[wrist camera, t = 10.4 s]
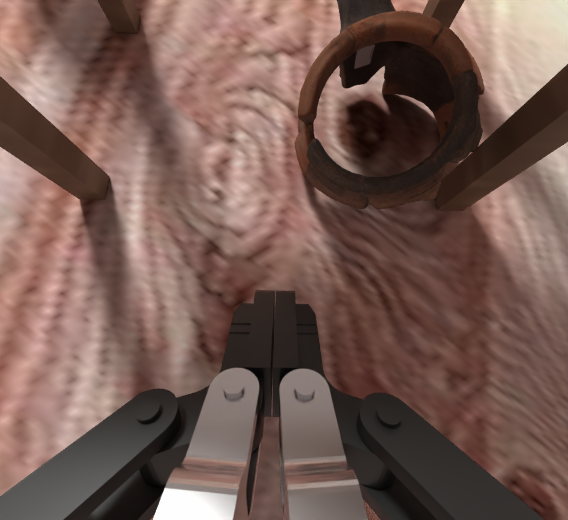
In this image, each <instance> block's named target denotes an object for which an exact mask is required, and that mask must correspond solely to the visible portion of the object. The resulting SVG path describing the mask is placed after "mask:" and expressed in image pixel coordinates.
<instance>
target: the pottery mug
mask: <svg viewBox="0 0 568 520" xmlns="http://www.w3.org/2000/svg"><path fill="white" fill-rule="evenodd" d="M337 2H338V7H339V13H340V20H341V30H340V34H339V35H338V36H337V37H336V38H334V39H333V40H332V41H331V42H330V44H329V45H328V46H327V47H326V48H325V49H324V50H323V51H322V52H321V53H320V55H319V56H318V57H317V59H316V60H315V62H314V63H313V65H312V66H311V68H310V71H309V73H308V75H307V77H306V79H305V82H304V85H303V87H302V89H301V92H300V99H299V107H298V118H299V119H298V132H299V134H298V136H297V138H296V140H295V150H296V154H297V158H298V162H299V165H300V167H301V169H302V172H303V174H304V175H306V179H307V180H308V182H309V183H310V184H312V185H313V186H314V187H315V188H317V189H318V190H319V191H321V192H322V193H324V194H325V195H327V196H329V197H330V198H332V199H334V200H336V201H338V202H340V203H343V204H346V205H349V206H352V207H355V208H359V209H365V208H366V207H367V206H368V204H369V205H371V206H373V207H374V208H376V209H385V208H391V207H395V206H398V205H402V204H405V203H409V202H415V201H420V200H429V199H433V198H435V197H436V196H437V192H438V190H439V188H440V184H441V181H442V174H443V170H444V167H445V165H446V164H447V163H448V162H453V163H457V162H459V161H461V160H464V159H465V158H466V157H467V156H468V154H469V153H470V152H474V151H475V150H476V149H477V148H478V145H479V142H480V139H481V136H482V132H483V130H482V128H481V122H480V115H479V111H478V100H479V95H482V94H483V93H484V84H483V79H482V76H481V72H480V70H479V68H478V66H477V63H476V61H475V60H474V58H473V57H472V55H471V54H470V52H469V51H468V50H467V49H466V48H465V46H464V44H463V43H462V41H461V40H460V39H459V37H458V36H457V35H456V34H455V33H454V32H453V31H452V30H451V29H449V28H447V27H443V26H442V24H441V22H439V21H438V20H436V19H435V18H432V17H429V16H426V15H423V14H421V13H416V12H409V11H396V10H395V9H394V7H393V5H392V3H391V0H337ZM339 65H340V66H339ZM338 66H339V68H340V77H341V81H342V86H343V87H344V88H346V89H347V88H350V87H353V86H355V85H361V84H365V83H367V82H368V81H369V79H370V78H371V77H372V76H373V75H374V74H375V73H376V72H377V71H378V70H379V69H380V68H382V67H383V66H385V73H384V79H385V81H384V84H383V88H382V94H383V95H390V94H398V95H406V96H409V97H411V98H414V99H416V100H418V101H420V102H422V103H424V104H425V105H426V106H427V107H428V108H429V109H430V110H431V111H432V112H433V114H434V116H435V119H436V121H437V124H438V127H439V131H440V137H441V142H440V143H439V145H438V146H437V147H436V149H435V150H434V151H433V152H432V154H431V155H430V156H429V157H427V158H426V159H425V160H424V161H423V162H421V163H419V164H418V165H417V166H415V167H413V168H411V169H410V170H407V171H405V172H403V173H400V174H397V175H393V176H388V177H367V176H362V175H359V174H355V173H352V172H350V171H348V170H346V169H343V168H342V167H341V166H339V165H338V164H336V163H335V162H334V161H333V160H332V159H331V158H330V157H329V156H328V154H327V153H326V152H325V150H324V148H323V146H322V145H321V143H320V142H319V140H318V139H315V137H314V129H313V122H314V120H315V118H316V114H317V106H318V102H319V98H320V95H321V92H322V90H323V88H324V86H325V84H326V82H327V80H328V79H329V77H330V76H331V74H332V73H333V72H334V70H335V69H336V68H337V67H338Z"/></svg>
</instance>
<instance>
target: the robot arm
mask: <svg viewBox="0 0 568 520" xmlns="http://www.w3.org/2000/svg"><path fill="white" fill-rule="evenodd" d="M274 327H275V330H274ZM272 378H273V417H279V463H280V482H281V501H282V520H368V517H367V513H366V509H365V505H364V501H363V499H364V500H365V501H366V502H367V503H368V505H369V506H370V507H371V508H372V509H373V511H374V512H375V513H376V514H377V516H378V517H379V518H380V519H381V520H544V519H543V518H542V517H541V516H540V515H538V514H537V513H536V512H535V511H534V510H532V509H531V508H530V507H529V506H528V505H526V504H525V503H524V502H523V501H522V500H520V499H519V498H518V497H517V496H516V495H514V494H513V493H512V492H511V491H510V490H508V489H507V488H506V487H505V486H504V485H502V484H501V483H500V482H499V481H498V480H496V479H495V478H494V477H493V476H491V475H490V474H489V473H488V472H487V471H485V470H484V469H483V468H482V467H481V466H479V465H478V464H477V463H476V462H475V461H473V460H472V459H471V458H470V457H469V456H467V455H466V454H465V453H464V452H463V451H461V450H460V449H459V448H458V447H457V446H455V445H454V444H453V443H452V442H451V441H449V440H448V439H447V438H446V437H445V436H443V435H442V434H441V433H440V432H439V431H437V430H436V429H435V428H434V427H433V426H431V425H430V424H429V423H428V422H427V421H425V420H424V419H423V418H422V417H421V416H419V415H418V414H417V413H416V412H415V411H413V410H412V409H411V408H410V407H409V406H407V405H406V404H405V403H404V402H402V401H401V400H400V399H398V398H397V397H395V396H392V395H390V394H386V393H373V394H370V395H368V396H367V397H365V398H364V400H362V399H359V398H356V397H353V396H350V395H347V394H344V393H342V392H340V391H338V390H337V389H335V388H334V387H333V386H332V385H331V384H330V383H329V382H328V381H327V379H326V377H325V375H324V372H323V366H322V359H321V352H320V344H319V337H318V330H317V323H316V316H315V313H314V311H313V310H312V309H311V307H310V306H309V304H296V303H295V291H276V307H275V291H267V290H256V292H255V299H254V304H249V303H241V305H240V306H239V307H238V308H237V309H236V311H235V312H234V314H233V319H232V323H231V327H230V332H229V336H228V341H227V345H226V349H225V354H224V358H223V362H222V367H221V370H220V373H219V374H218V375H217V376H216V377H215V378H214V379H213V381H212V382H211V384H210V385H209V386H208V387H206V388H204V389H202V390H200V391H198V392H195V393H192V394H188V395H185V396H181V397H178V398H176V397H175V395H174V394H173V393H172V392H170V391H168V390H165V389H152V390H148V391H145V392H143V393H141V394H139V395H138V396H136V397H135V398H133V399H132V400H130V401H129V402H128V403H126V404H125V405H124V406H122V407H121V408H120V409H118V410H117V411H116V412H114V413H113V414H111V415H110V416H109V417H107V418H106V419H105V420H103V421H102V422H101V423H99V424H98V425H97V426H95V427H94V428H92V429H91V430H90V431H88V432H87V433H86V434H84V435H83V436H82V437H80V438H79V439H77V440H76V441H75V442H73V443H72V444H71V445H69V446H68V447H67V448H65V449H64V450H63V451H61V452H60V453H58V454H57V455H56V456H54V457H53V458H52V459H50V460H49V461H48V462H46V463H45V464H44V465H42V466H41V467H39V468H38V469H37V470H35V471H34V472H33V473H31V474H30V475H29V476H27V477H26V478H25V479H23V480H22V481H20V482H19V483H18V484H16V485H15V486H14V487H12V488H11V489H10V490H8V491H7V492H5V493H4V494H3V495H1V496H0V520H150V519H151V518H152V517H153V516H154V515H155V516H154V519H153V520H251V515H252V508H253V500H254V493H255V486H256V478H257V471H258V464H259V457H260V449H261V440H262V437H263V427H264V417H271V401H272ZM155 513H156V514H155Z"/></svg>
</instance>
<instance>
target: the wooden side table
mask: <svg viewBox="0 0 568 520" xmlns="http://www.w3.org/2000/svg"><path fill="white" fill-rule="evenodd" d="M98 2H99V4H100V6H101V7H102V9H103V11H104V13H105V15H106V17H107V18H108V20H109V22H110V24H111V26H112V28H113V29H114V31H115V32H125V33H137V30H138V25H139V20H140V15H139V13H138V10H137V8H136V6H135V3H134V1H133V0H98ZM463 2H464V0H429V1H428V3H427V5H426V7H425V9H424V12H423V15H426V16H429V17H432V18H435V19H436V20H438V21H439V22H441V24H442V26H443V27H447V28H449V27H450V25H451V24H452V22H453V20H454V18H455V16H456V15H457V13H458V11H459V9H460V8H461V6H462V4H463ZM567 142H568V64H567V65H566V66H565V67H564V68H563V69H562V70H561V71H560V72H559V73H558V74H556V75H555V76H554V77H553V78H552V79H551V80H550V81H549V82H548V83H547V84H546V85H545V86H543V87H542V88H541V89H540V90H539V91H538V92H537V93H536V94H535V95H534V96H533V97H532V98H530V99H529V100H528V101H527V102H526V103H525V104H524V105H523V106H522V107H521V108H520V109H519V110H517V111H516V112H515V113H514V114H513V115H512V116H511V117H510V118H509V119H508V120H507V121H506V122H505V123H503V124H502V125H501V126H500V127H499V128H498V129H497V130H496V131H495V132H494V133H493V134H492V135H490V136H489V137H488V138H487V139H486V140H485V141H484V142H483V143H482V144H481V145H480V146H479V147H478V148H477V149H476V150H475V151H474V152H472V153H471V154H470V155H469V156H468V157H467V158H466V159H464V160H463V161H462V162H461V163H460V164H459V165H458V166H457V167H456V168H455V169H454V170H453V171H451V172H450V173H449V174H448V175H447V176H446V177H445V178H444V179H443V180H442V181H441V184H440V188H439V190H438V192H437V196H436V201H437V209H438V210H460V211H463V210H464V209H466V208H467V207H469V206H470V205H472V204H474V203H475V202H477V201H478V200H480V199H481V198H483V197H484V196H486V195H487V194H489V193H490V192H492V191H493V190H495V189H496V188H498V187H499V186H501V185H502V184H504V183H506V182H507V181H509V180H510V179H512V178H513V177H515V176H516V175H518V174H519V173H521V172H522V171H524V170H525V169H527V168H528V167H530V166H531V165H533V164H535V163H536V162H538V161H539V160H541V159H542V158H544V157H545V156H547V155H548V154H550V153H551V152H553V151H554V150H556V149H557V148H559V147H560V146H562V145H564V144H565V143H567ZM0 147H2V148H3V149H5V150H6V151H8V152H9V153H11V154H12V155H14V156H15V157H17V158H18V159H20V160H21V161H23V162H24V163H26V164H27V165H29V166H30V167H32V168H33V169H35V170H36V171H38V172H39V173H41V174H42V175H44V176H45V177H47V178H48V179H50V180H51V181H53V182H54V183H56V184H57V185H59V186H60V187H62V188H63V189H65V190H66V191H68V192H69V193H71V194H72V195H74V196H75V197H77V198H78V199H96V200H105V197H106V192H107V187H108V182H109V176H108V175H107V174H106V173H105V172H104V171H103V170H102V169H101V168H100V167H98V166H97V165H96V164H95V163H94V162H93V161H92V160H91V159H90V158H89V157H88V156H86V155H85V154H84V153H83V152H82V151H81V150H80V149H79V148H78V147H77V146H76V145H74V144H73V143H72V142H71V141H70V140H69V139H68V138H67V137H66V136H65V135H64V134H63V133H61V132H60V131H59V130H58V129H57V128H56V127H55V126H54V125H53V124H52V123H51V122H49V121H48V120H47V119H46V118H45V117H44V116H43V115H42V114H41V113H40V112H39V111H37V110H36V109H35V108H34V107H33V106H32V105H31V104H30V103H29V102H28V101H27V100H25V99H24V98H23V97H22V96H21V95H20V94H19V93H18V92H17V91H16V90H15V89H14V88H12V87H11V86H10V85H9V84H8V83H7V82H6V81H5V80H4V79H3V78H2V77H0Z"/></svg>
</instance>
